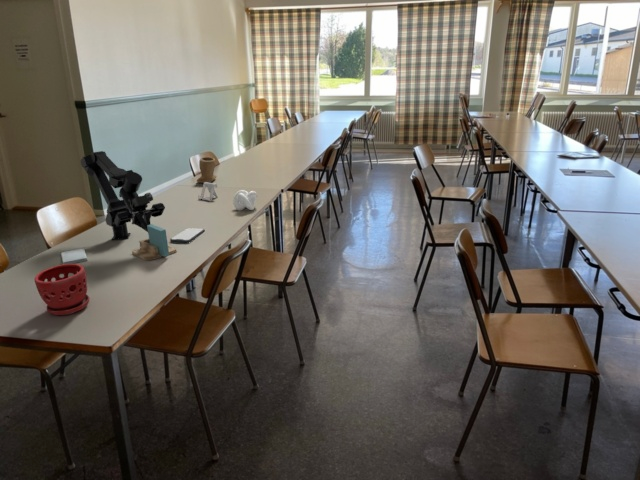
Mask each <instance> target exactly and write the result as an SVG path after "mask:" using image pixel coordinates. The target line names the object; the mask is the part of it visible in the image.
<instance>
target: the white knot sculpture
mask: <svg viewBox="0 0 640 480" xmlns="http://www.w3.org/2000/svg"><path fill="white" fill-rule="evenodd" d="M257 199H258V194H257V192H256V191H255V190H251V191H249V192H248V191H246V190H245V189H240V190H238V191H237V192H236V193H235V194H234V196H233V200H232V201H233V202H232V204H233V207H234V208H235V209H236V210H238V211H242V210H245V208H246V209H248V210H249V211H253V210H255V203H256V201H257Z"/></svg>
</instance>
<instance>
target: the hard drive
mask: <svg viewBox="0 0 640 480" xmlns="http://www.w3.org/2000/svg"><path fill="white" fill-rule="evenodd" d="M60 256H61V260H62V265H64V264H78V263H81V262H86V261H89V259H88V257H87V254H86V251H85V248H84V247H83V248H77V249H72V250H71V249H70V250H67V251H62V252H60Z"/></svg>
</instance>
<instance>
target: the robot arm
mask: <svg viewBox="0 0 640 480" xmlns="http://www.w3.org/2000/svg"><path fill="white" fill-rule="evenodd" d="M80 165H81V167H82V168H83V169H84V170H85V173H86V174H88V175H90V176H91V177H92V178H93V179H94V181H95V183H96V185H97V187H98V189H99V191H100V192H101V195H102V197H103V198H104V201H105V202H106V205H107V209H106V213H107V214H106V217H105V223H106V225H107V226H109V227H111V229H112V234H113V236H112V237H111V240H112V241H113V240H114V241H115V240H127V239H129V237H130V236H131V235H132V234H131V232H129V231H128V226H127V223H131V225H135V226H137V227H139V228H140V229H143V230H144V231H145V232H147V233H148V229H147V225H151V219H152V217H153V218H156V217H160V216H162V215H163V213H164V211H165V209H166V206H165V204H164V203H163V202H159V203H154V204H152V206H151V208H148V207H149V205H148V204H151V202H152V201H154V197H153V195H152V193H151V192H146V193H144V195H139V194H138V191H139V189H140V186H141V184H142V181H143V177H142V175H141V174H139V173H138V172H134V170H133V169H127V170H126V169H124V168H121V167H118V166H117V165H116V163H115V162H113V160H111V158H110V157H109V156H108V155H107V153H106V151H103V150H100V151H94V152H91V153H90V154H88V155H84V156H82V158H81V159H80ZM108 177H109V178H108ZM119 188H120V189H119ZM114 189H119V195H118V196H117V194H116V191H115V190H114ZM120 198H122V199H120ZM147 208H148V209H147ZM131 221H132V222H131Z"/></svg>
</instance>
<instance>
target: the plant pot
mask: <svg viewBox="0 0 640 480" xmlns="http://www.w3.org/2000/svg"><path fill="white" fill-rule="evenodd" d="M69 274H73V275H72V276H69ZM60 275H63V277H61V276H60ZM33 279H34V282H35V286H36V289H37V291H38V294H39V296H40V298H41V299H42V301H43V302H44V303H45V304H46V310H47V312H48V313H50V314H51V315H55V316H64V315H72V314H74V313H76V312H79V311H81V310H83V309H84V308H85V307H86V306H87V305H88V304H89V302H90V298H91V297H90V296H89V295H88V294H87V292H88V285H87V284H88V283H87V274H86V269H85V268H84V266H83V265H81V264H79V263H72V264H64V265H63V264H60V265H54V266H52V267H49V268H47V269H45V270H42V271H41V272H39V273H38V274H36V275H35V277H34V278H33ZM52 279H54V280H52ZM46 280H47V281H46Z"/></svg>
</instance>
